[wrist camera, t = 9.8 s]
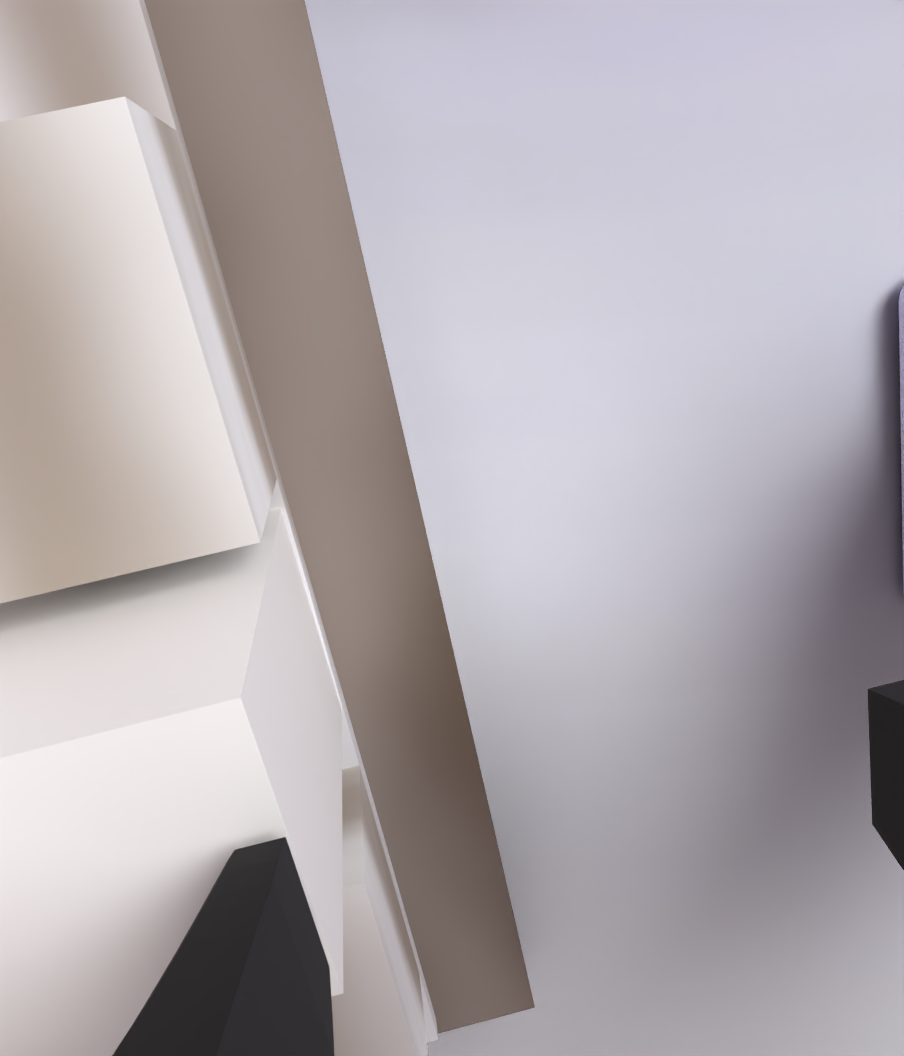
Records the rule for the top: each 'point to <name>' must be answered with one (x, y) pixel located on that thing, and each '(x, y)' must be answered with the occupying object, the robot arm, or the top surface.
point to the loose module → (154, 778)
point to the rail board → (350, 472)
